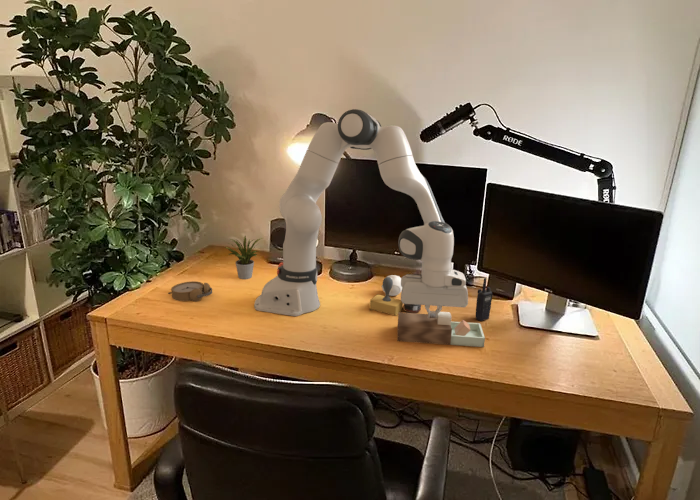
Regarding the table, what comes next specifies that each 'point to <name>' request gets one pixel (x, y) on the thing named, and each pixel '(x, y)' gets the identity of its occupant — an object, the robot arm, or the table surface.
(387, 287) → the rubber stamp
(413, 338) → the dark wooden box
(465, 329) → the terracotta tile
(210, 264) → the table surface
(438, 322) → the cream tile
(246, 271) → the house plant
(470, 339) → the tray
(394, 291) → the motion sensor
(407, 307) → the supplement bottle
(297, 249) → the robot arm
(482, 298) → the two-way radio
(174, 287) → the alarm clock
